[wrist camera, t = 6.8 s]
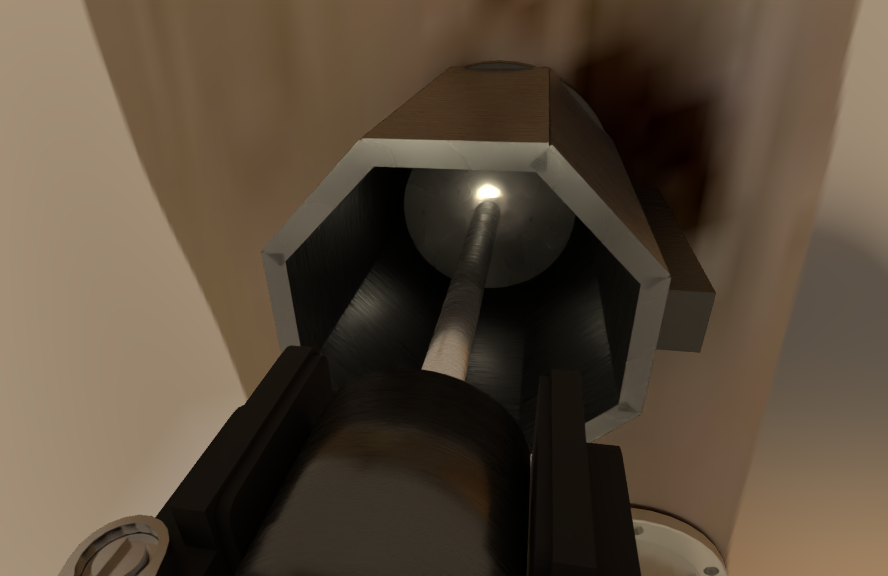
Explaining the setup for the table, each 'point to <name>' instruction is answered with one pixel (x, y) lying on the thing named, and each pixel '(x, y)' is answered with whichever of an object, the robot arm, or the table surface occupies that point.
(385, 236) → the grey octagonal cup
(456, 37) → the table surface
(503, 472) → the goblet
